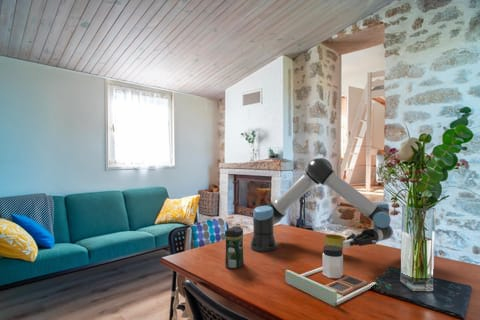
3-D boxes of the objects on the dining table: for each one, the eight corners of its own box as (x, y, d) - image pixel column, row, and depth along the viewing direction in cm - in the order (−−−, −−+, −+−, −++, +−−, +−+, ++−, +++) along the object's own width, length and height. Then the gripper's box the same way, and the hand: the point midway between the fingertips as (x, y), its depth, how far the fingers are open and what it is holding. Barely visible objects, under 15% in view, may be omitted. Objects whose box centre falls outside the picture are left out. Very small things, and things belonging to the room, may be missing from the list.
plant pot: (342, 251, 157) (342, 234, 157) (347, 258, 147) (347, 239, 147) (323, 251, 158) (323, 233, 158) (327, 257, 148) (327, 239, 148)
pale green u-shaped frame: (327, 267, 135) (327, 256, 135) (376, 285, 116) (376, 272, 116) (285, 282, 119) (285, 270, 119) (334, 306, 100) (334, 292, 100)
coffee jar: (231, 260, 144) (230, 224, 144) (245, 263, 141) (245, 225, 141) (222, 267, 135) (222, 229, 135) (237, 270, 132) (237, 230, 132)
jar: (347, 276, 124) (347, 249, 124) (333, 280, 121) (333, 252, 121) (332, 269, 132) (332, 244, 132) (318, 272, 129) (318, 246, 129)
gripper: (384, 246, 139) (357, 256, 126) (359, 240, 150) (332, 249, 136) (384, 230, 139) (357, 239, 126) (359, 226, 150) (332, 233, 136)
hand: (344, 244), depth 131 cm, fingers closed
